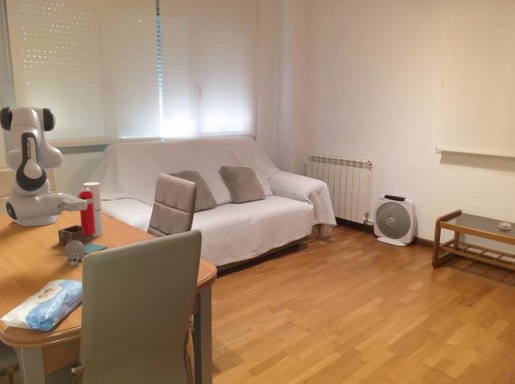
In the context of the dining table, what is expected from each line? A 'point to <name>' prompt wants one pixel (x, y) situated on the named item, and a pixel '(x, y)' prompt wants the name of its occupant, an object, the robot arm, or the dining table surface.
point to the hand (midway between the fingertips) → (88, 199)
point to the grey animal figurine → (74, 252)
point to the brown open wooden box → (73, 235)
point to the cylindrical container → (96, 206)
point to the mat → (93, 248)
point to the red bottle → (87, 213)
